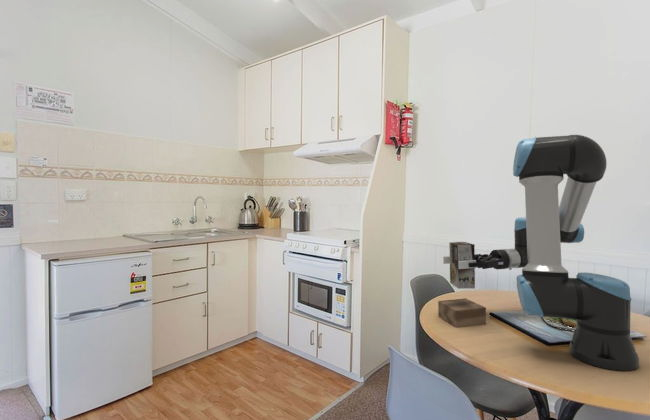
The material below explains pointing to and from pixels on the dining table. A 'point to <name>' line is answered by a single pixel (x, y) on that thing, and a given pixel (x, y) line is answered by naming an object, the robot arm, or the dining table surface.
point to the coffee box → (458, 276)
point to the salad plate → (567, 322)
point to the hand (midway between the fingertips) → (451, 262)
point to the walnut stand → (462, 312)
